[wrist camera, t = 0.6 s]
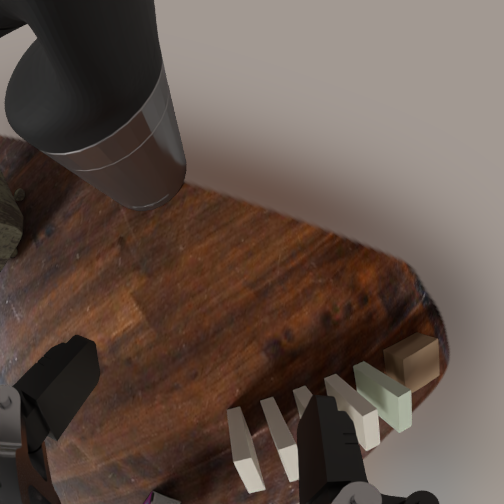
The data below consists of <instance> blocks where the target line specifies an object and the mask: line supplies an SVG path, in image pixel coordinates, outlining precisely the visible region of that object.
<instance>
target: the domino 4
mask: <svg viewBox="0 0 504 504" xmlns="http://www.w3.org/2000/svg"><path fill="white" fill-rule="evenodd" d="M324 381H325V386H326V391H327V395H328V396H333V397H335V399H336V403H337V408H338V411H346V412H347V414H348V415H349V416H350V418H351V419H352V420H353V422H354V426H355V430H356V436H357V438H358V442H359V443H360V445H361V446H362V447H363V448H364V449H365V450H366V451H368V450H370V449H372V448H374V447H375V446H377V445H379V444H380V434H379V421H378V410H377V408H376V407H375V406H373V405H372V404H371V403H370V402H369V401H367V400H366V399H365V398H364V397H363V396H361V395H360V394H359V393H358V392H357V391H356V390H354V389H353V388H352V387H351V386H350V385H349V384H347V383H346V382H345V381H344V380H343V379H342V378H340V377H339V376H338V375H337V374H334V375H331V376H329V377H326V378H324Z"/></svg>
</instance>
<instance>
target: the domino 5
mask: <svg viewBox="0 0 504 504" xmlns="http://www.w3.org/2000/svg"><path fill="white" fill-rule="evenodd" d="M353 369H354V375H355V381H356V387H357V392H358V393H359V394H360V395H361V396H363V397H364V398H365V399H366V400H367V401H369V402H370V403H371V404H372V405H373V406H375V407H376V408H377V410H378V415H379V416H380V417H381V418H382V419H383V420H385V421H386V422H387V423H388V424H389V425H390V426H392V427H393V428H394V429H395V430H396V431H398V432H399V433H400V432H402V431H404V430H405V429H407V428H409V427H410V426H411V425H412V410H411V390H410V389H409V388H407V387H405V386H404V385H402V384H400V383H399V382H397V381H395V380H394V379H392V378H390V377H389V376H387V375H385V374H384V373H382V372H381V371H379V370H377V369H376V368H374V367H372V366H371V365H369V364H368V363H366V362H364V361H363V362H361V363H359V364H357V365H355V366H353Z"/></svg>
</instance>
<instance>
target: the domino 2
mask: <svg viewBox="0 0 504 504" xmlns="http://www.w3.org/2000/svg"><path fill="white" fill-rule="evenodd" d="M260 403H261V406H262V409H263V411H264V414H265V417H266V420H267V423H268V426H269V429H270V432H271V435H272V437H273V440H274V443H275V445H276V448H277V450H278V453H279V456H280V458H281V461H282V463H283V466H284V468H285V471H286V474H287V476H288V479H289V481H290V482H292V481H295V480H298V479H299V469H298V449H297V445H296V443H295V441H294V439H293V437H292V435H291V433H290V431H289V429H288V427H287V425H286V423H285V420H284V418H283V416H282V414H281V412H280V410H279V408H278V406H277V404H276V402H275V400H274V398H273V397H270V398H267V399H264V400H261V401H260Z"/></svg>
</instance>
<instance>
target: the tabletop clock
mask: <svg viewBox="0 0 504 504" xmlns="http://www.w3.org/2000/svg"><path fill="white" fill-rule="evenodd" d="M24 197H25V192H24V190H23V189H17V190H16V191H15V194H14V196H13V195H12V193H11V191H10V189H9V187H8V185H7V183H6V180H5V178H4V176H3V174H2V172H1V170H0V272H1V270H2V269H3V267H4V266H5V264H6V262H7V261H8V259H9V257H11V258H14V257H15V256H16V255H17V248H16V247H17V245H18V243H19V241H20V239H21V236H22V234H23V215H22V213H21V211H20V209H19V207H18V205H17V204H16V202H15V200H17V201H21V200H23V199H24Z"/></svg>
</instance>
